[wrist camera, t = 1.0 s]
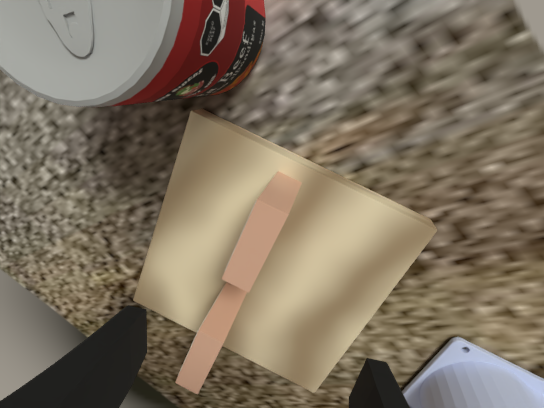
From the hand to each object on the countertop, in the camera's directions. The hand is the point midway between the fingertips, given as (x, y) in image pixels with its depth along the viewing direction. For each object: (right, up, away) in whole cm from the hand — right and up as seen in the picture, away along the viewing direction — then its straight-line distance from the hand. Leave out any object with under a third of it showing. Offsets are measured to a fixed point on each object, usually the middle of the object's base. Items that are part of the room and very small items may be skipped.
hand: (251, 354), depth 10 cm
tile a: (+1, +4, +10) cm, 11 cm away
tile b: (-3, -3, +13) cm, 14 cm away
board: (0, +1, +13) cm, 13 cm away
